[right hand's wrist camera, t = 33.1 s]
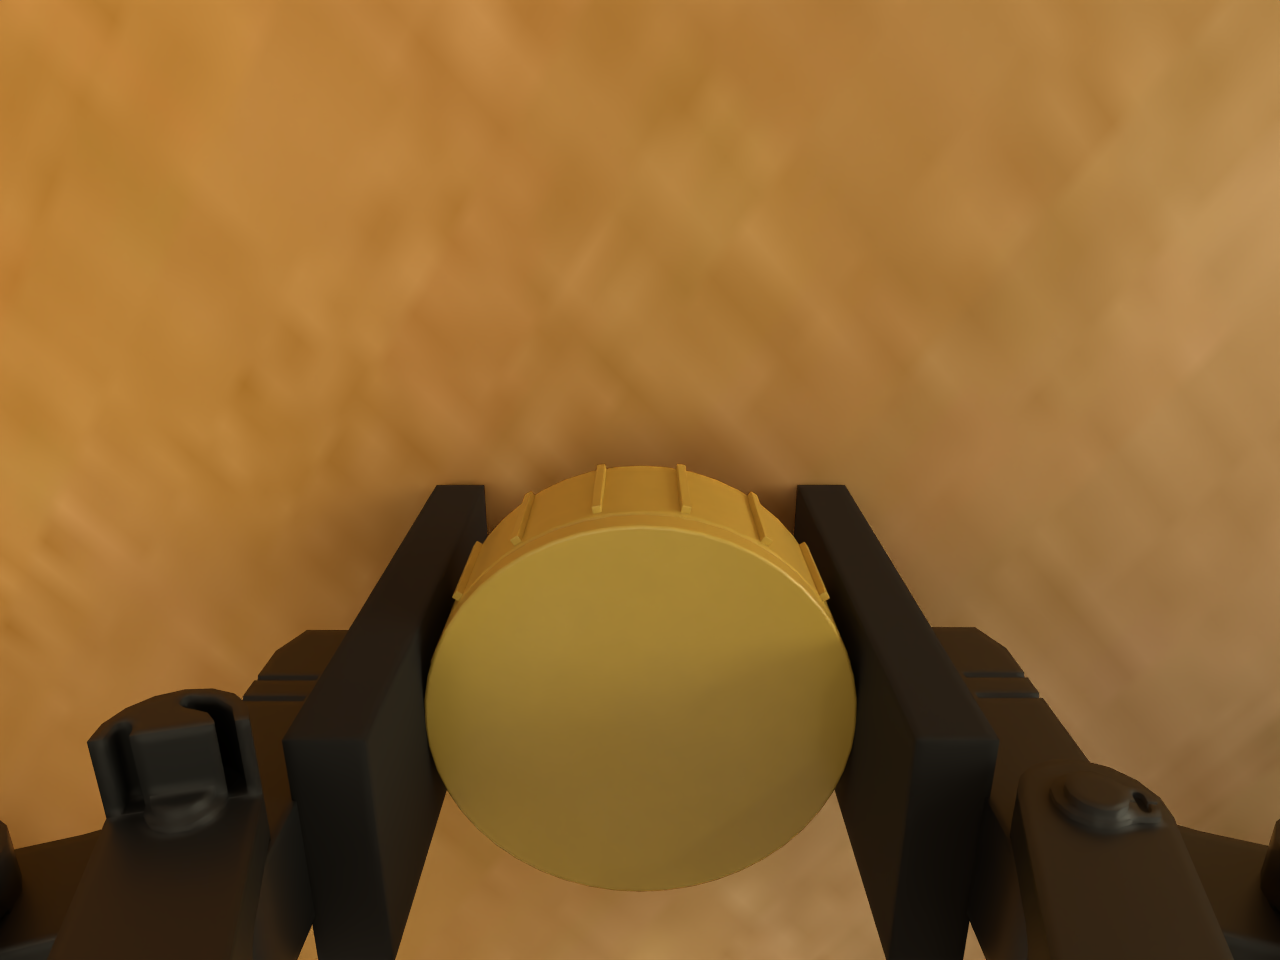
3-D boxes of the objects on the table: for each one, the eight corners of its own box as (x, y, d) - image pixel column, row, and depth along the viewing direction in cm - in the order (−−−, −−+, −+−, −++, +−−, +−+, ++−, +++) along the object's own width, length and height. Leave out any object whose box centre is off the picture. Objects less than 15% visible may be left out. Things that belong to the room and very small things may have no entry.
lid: (387, 544, 12) (339, 619, 10) (752, 400, 11) (775, 452, 9) (547, 831, 13) (532, 942, 11) (874, 721, 13) (915, 820, 11)
